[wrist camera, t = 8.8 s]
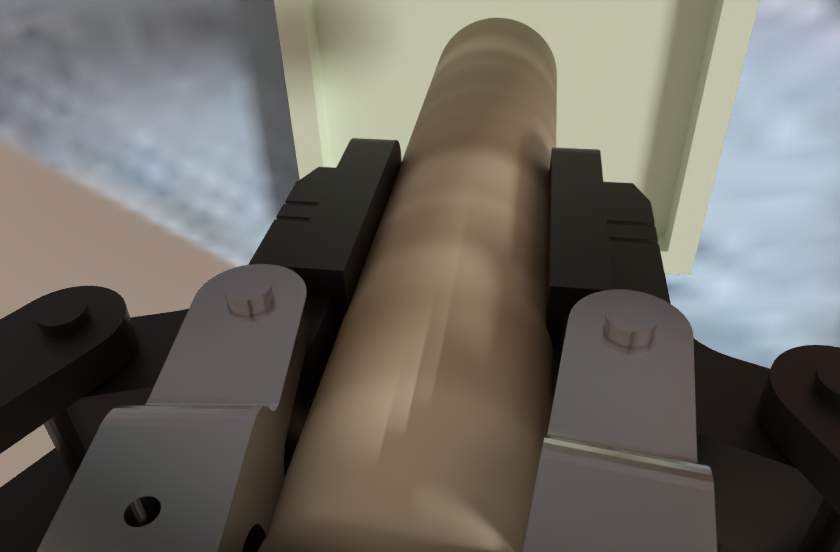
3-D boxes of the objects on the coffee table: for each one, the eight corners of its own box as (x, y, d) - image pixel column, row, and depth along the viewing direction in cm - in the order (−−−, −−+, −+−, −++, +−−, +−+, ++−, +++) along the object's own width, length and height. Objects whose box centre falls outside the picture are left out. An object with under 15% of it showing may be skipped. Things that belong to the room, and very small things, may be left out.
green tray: (247, -355, 16) (221, -361, 15) (833, -384, 14) (858, -394, 13) (321, 223, 25) (309, 248, 24) (683, 247, 23) (690, 275, 22)
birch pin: (434, 17, 15) (224, 496, 6) (560, 17, 15) (561, 532, 5) (439, 132, 17) (280, 658, 7) (553, 134, 16) (544, 695, 7)
